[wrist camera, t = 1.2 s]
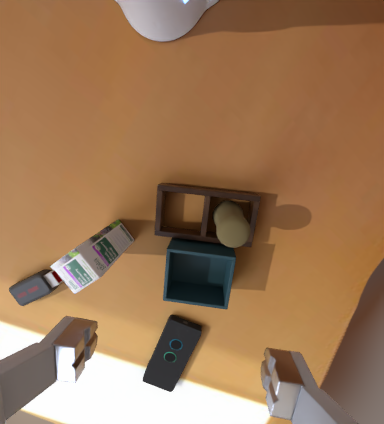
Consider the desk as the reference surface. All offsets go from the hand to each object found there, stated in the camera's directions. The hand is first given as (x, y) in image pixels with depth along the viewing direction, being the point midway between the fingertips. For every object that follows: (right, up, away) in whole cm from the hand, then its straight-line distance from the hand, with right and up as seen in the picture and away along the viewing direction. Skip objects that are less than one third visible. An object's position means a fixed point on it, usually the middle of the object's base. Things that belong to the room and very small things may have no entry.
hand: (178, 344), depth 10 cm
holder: (+3, +6, +31) cm, 32 cm away
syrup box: (-15, +1, +34) cm, 38 cm away
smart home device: (-4, -28, +41) cm, 49 cm away
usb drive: (-35, -10, +39) cm, 53 cm away
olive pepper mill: (+8, +6, +31) cm, 33 cm away
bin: (+2, -4, +34) cm, 34 cm away
